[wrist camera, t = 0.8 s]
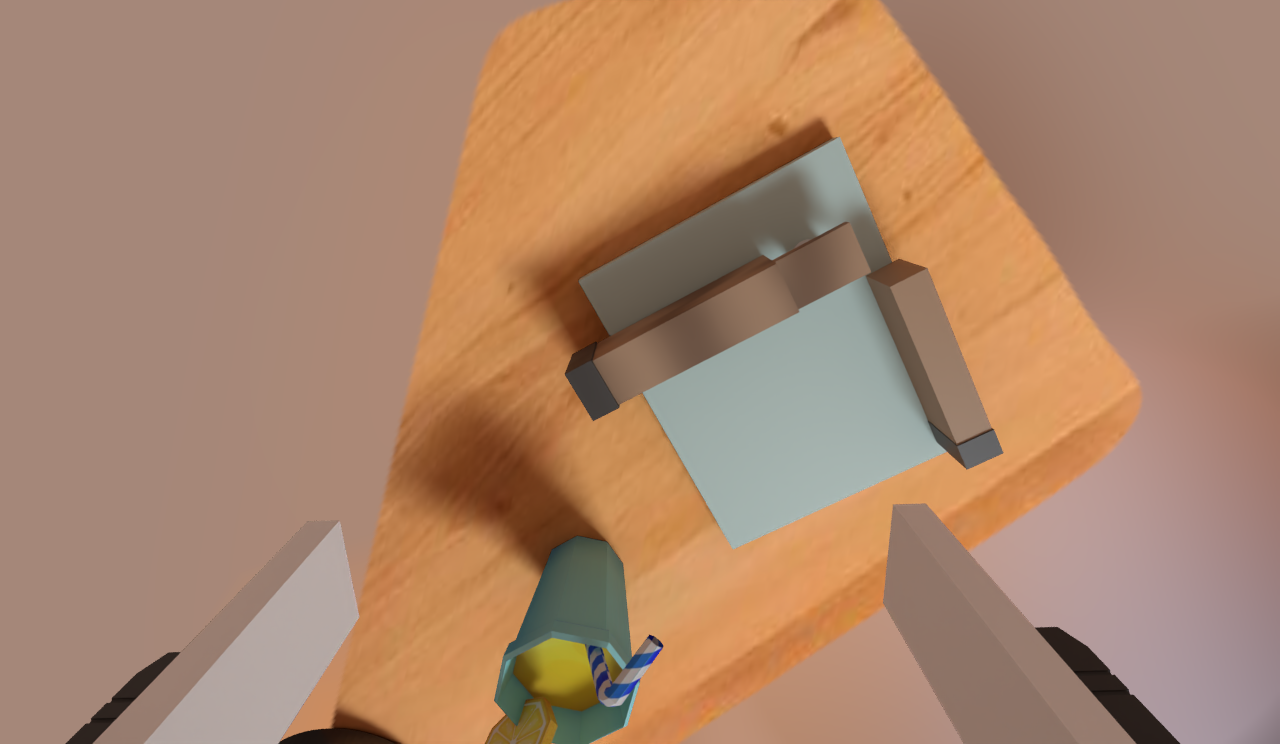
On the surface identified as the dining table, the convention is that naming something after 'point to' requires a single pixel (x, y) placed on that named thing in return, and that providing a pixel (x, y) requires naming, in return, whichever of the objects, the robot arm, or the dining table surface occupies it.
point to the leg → (713, 319)
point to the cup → (572, 653)
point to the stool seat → (801, 357)
